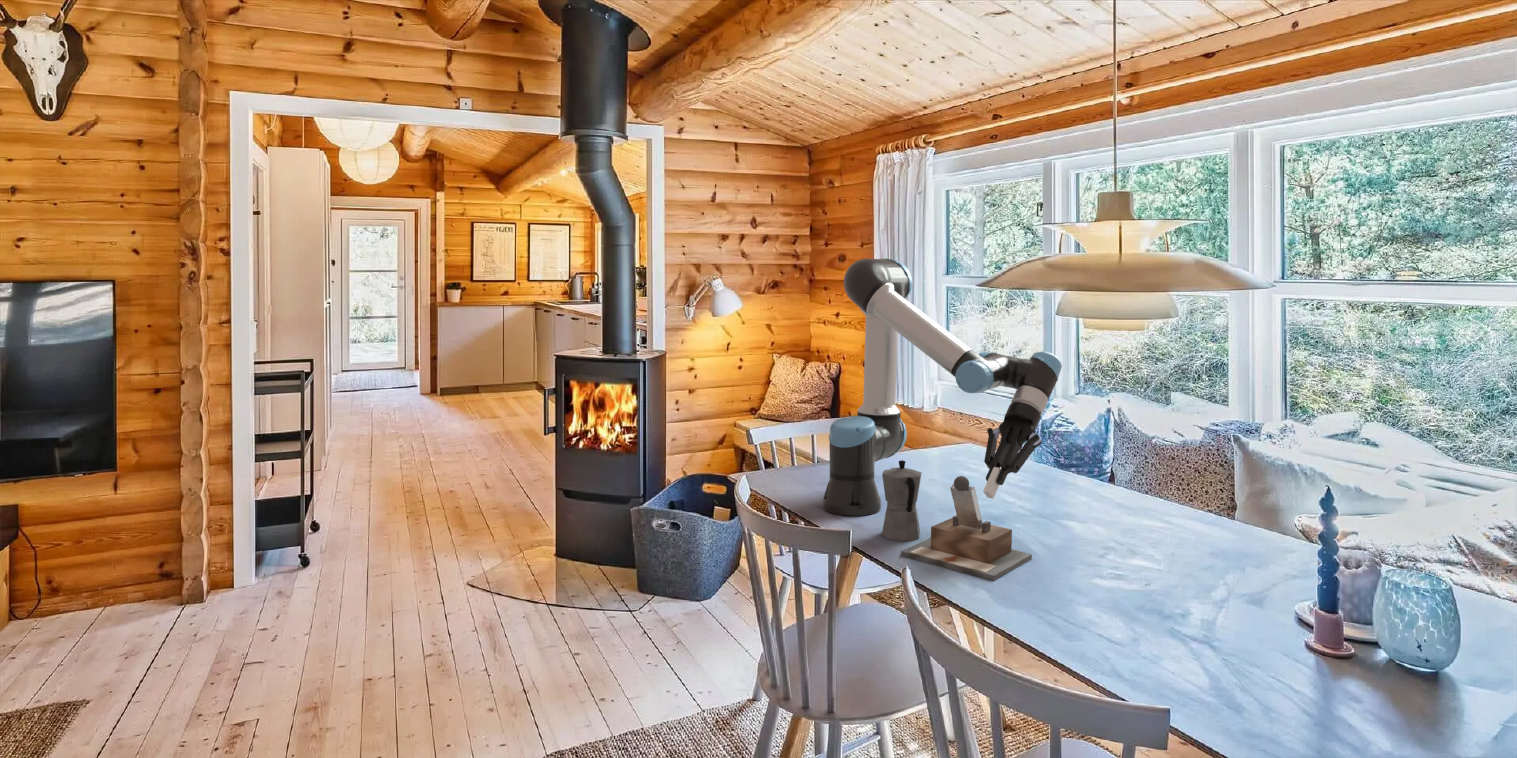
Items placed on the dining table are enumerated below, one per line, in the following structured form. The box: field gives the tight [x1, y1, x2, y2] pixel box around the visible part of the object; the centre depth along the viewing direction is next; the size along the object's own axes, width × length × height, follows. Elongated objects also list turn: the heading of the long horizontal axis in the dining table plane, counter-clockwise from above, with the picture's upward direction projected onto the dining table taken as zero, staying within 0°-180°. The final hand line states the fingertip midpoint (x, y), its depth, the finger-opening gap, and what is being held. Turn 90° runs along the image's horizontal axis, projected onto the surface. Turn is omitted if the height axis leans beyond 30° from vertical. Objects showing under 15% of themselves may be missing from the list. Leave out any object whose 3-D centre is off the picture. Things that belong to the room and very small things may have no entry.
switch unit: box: [900, 514, 1033, 581], centre depth 179 cm, size 22×17×8 cm
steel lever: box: [949, 475, 984, 529], centre depth 177 cm, size 5×3×13 cm, turn 47°
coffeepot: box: [881, 459, 922, 542], centre depth 193 cm, size 15×9×18 cm, turn 6°
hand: (988, 494), depth 184 cm, fingers closed
